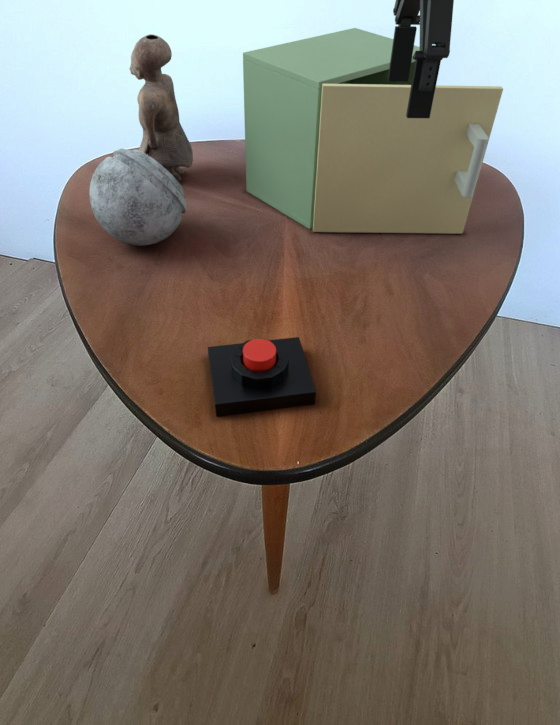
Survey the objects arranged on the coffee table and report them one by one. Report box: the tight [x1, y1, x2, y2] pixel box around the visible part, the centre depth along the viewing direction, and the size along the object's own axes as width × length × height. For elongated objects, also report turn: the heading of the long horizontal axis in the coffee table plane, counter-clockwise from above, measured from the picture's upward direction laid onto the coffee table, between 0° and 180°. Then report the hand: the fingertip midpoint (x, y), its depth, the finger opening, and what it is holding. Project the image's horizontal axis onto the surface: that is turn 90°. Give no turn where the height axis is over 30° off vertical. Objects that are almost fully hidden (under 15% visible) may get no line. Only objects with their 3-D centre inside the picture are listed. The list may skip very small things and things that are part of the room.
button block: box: [207, 336, 317, 417], centre depth 68 cm, size 12×10×4 cm
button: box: [243, 338, 276, 372], centre depth 67 cm, size 4×4×2 cm
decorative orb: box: [88, 148, 188, 246], centre depth 88 cm, size 15×14×15 cm
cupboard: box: [242, 27, 420, 230], centre depth 99 cm, size 18×26×24 cm
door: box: [312, 84, 504, 235], centre depth 86 cm, size 7×26×24 cm, turn 90°
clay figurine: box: [128, 34, 194, 182], centre depth 101 cm, size 13×10×25 cm
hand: (407, 98), depth 72 cm, fingers open, 13 cm apart
